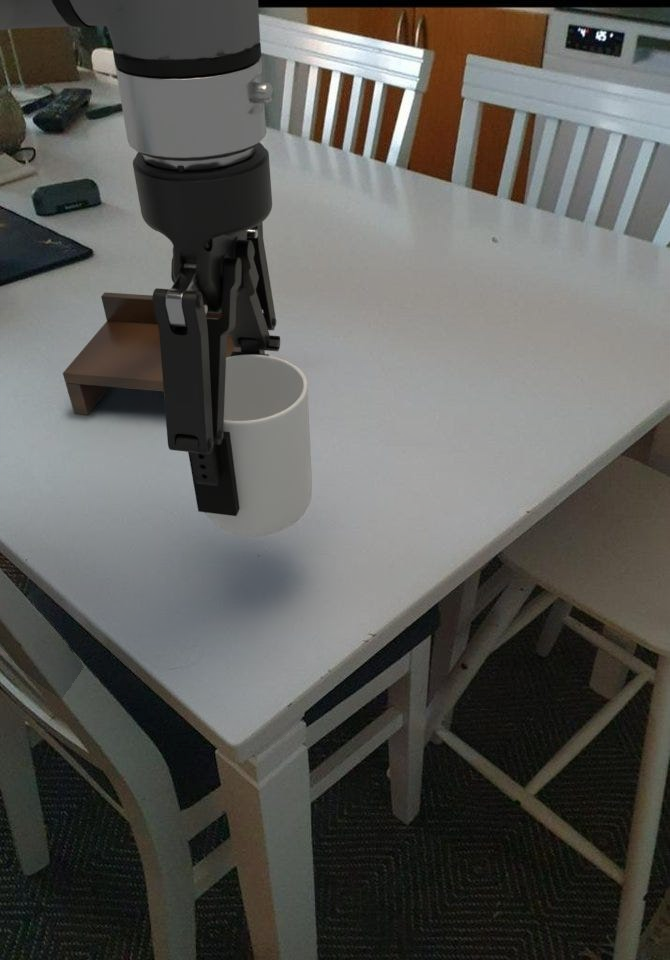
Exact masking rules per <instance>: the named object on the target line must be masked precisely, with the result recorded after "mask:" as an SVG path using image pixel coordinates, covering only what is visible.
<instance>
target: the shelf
mask: <svg viewBox="0 0 670 960" xmlns="http://www.w3.org/2000/svg"><path fill="white" fill-rule="evenodd" d="M100 297H101V302H102V306H103V310H104V315H105V319H106V322H105V323H104V324H103V325H102V326H101V327H100V328H99V330H97V332H96V333H95V334H94V335H93V337H92V338H91V339H90V340H89V342H88V343H87V344H86V345H85V346H84V347H83V348H82V350H81V351H80V352H79V353H78V354H77V356H76V357H75V358H74V359H73V360H72V361H71V363H70V364H69V365H68V366H67V368H65V370H64V371H63V372H62V376H63V379H64V383H65V386H66V390H67V393H68V398H69V400H70V403H71V407H72V411H73V414H76V415H85V416H86V415H87V416H88V415H89V414H90V413H91V412H92V411H93V409H94V408H95V406H96V405H97V404H98V402H99V401H100V400H101V399H102V398H103V396H104V394H105V393H106V392H107V390H108V389H109V388H121V389H132V390H144V391H155V392H164V387H163V374H162V361H161V348H160V335H159V328H158V324H157V320H156V316H155V312H154V308H153V303H152V297H153V294H136V293H122V292H121V293H120V292H104V293H102V295H100ZM221 314H222V313H207V314H206V318H216V319H219V318H220V317H221ZM233 351H235V352H241V348H235V347H234V344H233V342H232V339H231V336H230V334H229V333H228V334H227V347H226V357H230V356H231V354H232V352H233Z"/></svg>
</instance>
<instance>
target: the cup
mask: <svg viewBox="0 0 670 960" xmlns="http://www.w3.org/2000/svg"><path fill="white" fill-rule="evenodd" d="M310 427H311V426H310V406H309V385H308V379H307V377H306V375H305V374H304V373H303V371H302V370H301V369H300V368H299V367H298V366H296V365H295V364H293V363H291V362H290V361H288V360H285V359H283V358H280V357H275V356H271V355H269V356H266V355H238V356H231V357H226V373H225V399H224V426H223V431H224V432H230V438H231V446H232V454H233V462H234V470H235V477H236V485H237V493H238V501H239V511H238V514H237V516H231V515H223V514H214V513H206V512H204V514H205V516H206V517H207V519H209V520H210V522H211V523H212V524H214V525H215V526H216V527H218V528H219V529H221V530H223V531H224V532H227V533H229V534H232V535H237V536H243V537H264V536H268V535H273V534H276V533H280V532H281V531H284V530H286V529H288V528H289V527H291V526H293V525H294V524H295V523H297V522H298V521H299V520H300V519H301V518H302V517H303V516H304V515H305V513H306V512H307V510H308V508H309V506H310V504H311V501H312V496H313V474H312V473H313V472H312V471H313V470H312V452H311V451H312V450H311V449H312V448H311V447H312V446H311V428H310Z"/></svg>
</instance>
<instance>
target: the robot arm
mask: <svg viewBox="0 0 670 960" xmlns="http://www.w3.org/2000/svg"><path fill="white" fill-rule="evenodd" d="M259 11H260V10H259V0H0V31H4V30H11V29H12V30H14V29H35V28H37V29H38V28H63V27H64V28H65V27H74V28H92V27H97V26H99V27H103V26H104V27H106V28H107V31H108V34H109V39H110V41H111V44H112V48H111V49H112V54H113V55H112V56H113V60H114V65H115V71H116V77H117V78H116V79H117V84H118V91H119V96H120V102H121V103H120V104H121V108H122V114H123V122H124V127H125V134H126V138H127V139H126V140H127V143H128V145H129V147H131V148H132V149H133V150H135V151H136V152H137V153H136V155H135V157H134V158H133V160H132V166H133V167H132V168H133V169H132V170H133V173H134V179H135V186H136V191H137V196H138V197H137V198H138V202H139V208H140V214H141V217H142V219H143V221H144V222H145V224H146V225H147V226H148V227H149V228H151V229H152V230H154V231H155V232H158V233H160V234H161V235H163V236H164V237H166V238H167V239H168V240H169V241H170V242H171V244H172V259H171V273H170V274H171V275H170V277H171V281H172V283H173V284H172V285H171V288H155V289H154V290H153V293H152V295H153V297H152V303H153V308H154V312H155V316H156V320H157V324H158V328H159V335H160V348H161V361H162V374H163V387H164V391H163V398H164V412H165V424H166V437H167V445H168V446H167V447H168V449H169V451H176V452H177V451H178V452H185V453H188V458H189V465H190V472H191V478H192V482H193V490H194V494H195V500H196V508H197V511H198V512H199V513H205V512H206V513H214V514H223V515H231V516H237V514H238V511H239V501H238V493H237V485H236V477H235V470H234V462H233V454H232V446H231V438H230V432H224V431H223V426H224V399H225V373H226V347H227V334H228V333H229V334H230V336H231V339H232V342H233V344H234V347H235V348H241V352H235V351H233V352H232V354H231V356H238V355H266V356H270V354H268V353H266V351H267V352H279V351H280V348H281V336H280V335H271V334H270V332H269V331H274V330H275V329H276V326H277V317H276V312H275V305H274V299H273V292H272V286H271V279H270V274H269V268H268V267H269V266H268V260H267V254H266V248H265V240H264V226H263V225H264V223H263V222H265V220H266V219H268V217H269V215H270V214H271V211H272V208H273V195H272V194H273V193H272V181H271V179H272V178H271V165H270V153H269V151H268V150H267V148H266V147H265V146H264V145H263V144H262V143H261V141H263V140H264V138H265V137H266V135H267V124H266V123H267V122H266V109H265V104H269V103H271V102H272V101H273V99H274V95H275V94H274V92H275V90H274V88H273V87H272V84H271V83H269V82H266V81H263V78H262V76H263V75H262V72H263V69H262V68H263V67H262V66H263V65H262V45H261V43H262V42H261V31H260V30H261V29H260V12H259ZM207 313H222V314H221V317H220V318H219V319H216V318H206V314H207ZM231 356H230V357H231Z"/></svg>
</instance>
